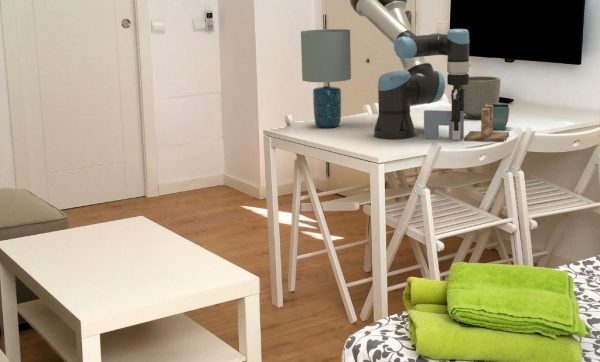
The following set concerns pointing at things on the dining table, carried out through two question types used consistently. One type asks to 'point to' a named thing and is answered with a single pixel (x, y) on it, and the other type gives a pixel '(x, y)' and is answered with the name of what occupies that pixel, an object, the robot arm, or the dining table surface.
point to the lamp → (326, 70)
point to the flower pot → (500, 116)
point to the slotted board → (440, 123)
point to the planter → (480, 94)
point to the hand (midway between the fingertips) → (457, 138)
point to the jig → (486, 128)
